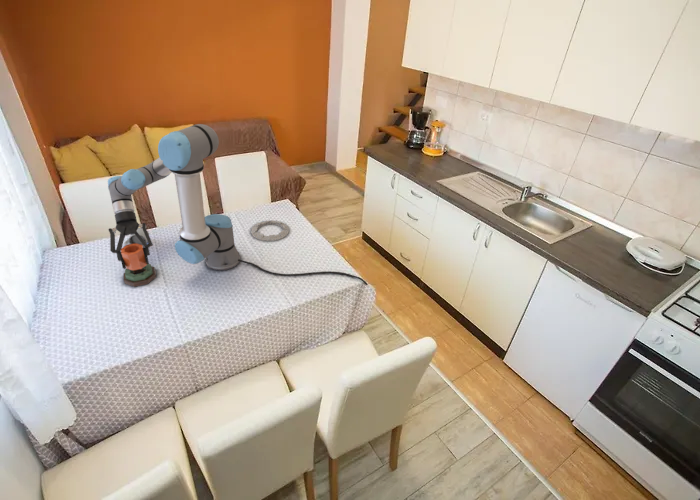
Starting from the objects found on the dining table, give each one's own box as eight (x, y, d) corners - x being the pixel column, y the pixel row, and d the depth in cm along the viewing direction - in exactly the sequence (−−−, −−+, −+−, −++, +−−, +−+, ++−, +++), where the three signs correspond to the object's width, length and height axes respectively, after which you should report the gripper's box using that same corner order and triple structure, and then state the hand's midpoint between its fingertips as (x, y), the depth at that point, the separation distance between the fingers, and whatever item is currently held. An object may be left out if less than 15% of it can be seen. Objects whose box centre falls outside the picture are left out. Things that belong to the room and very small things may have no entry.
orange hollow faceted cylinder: (151, 261, 161) (146, 246, 156) (137, 272, 155) (132, 256, 150) (136, 257, 163) (131, 241, 158) (122, 267, 157) (116, 251, 152)
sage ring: (157, 269, 164) (156, 266, 163) (140, 283, 156) (138, 279, 155) (138, 264, 167) (137, 260, 165) (120, 277, 159) (119, 273, 158)
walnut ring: (162, 272, 166) (161, 269, 165) (141, 289, 157) (140, 285, 155) (139, 265, 169) (138, 262, 168) (118, 281, 159) (116, 278, 158)
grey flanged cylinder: (151, 238, 187) (147, 225, 182) (148, 247, 180) (144, 234, 176) (127, 240, 184) (122, 227, 180) (123, 250, 178) (118, 236, 173)
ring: (292, 224, 207) (292, 221, 206) (283, 243, 191) (283, 240, 190) (258, 219, 208) (258, 216, 207) (246, 238, 192) (245, 235, 191)
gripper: (153, 211, 165) (164, 261, 163) (98, 220, 157) (109, 272, 155) (150, 206, 158) (162, 258, 156) (93, 214, 150) (104, 269, 148)
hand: (136, 265), depth 155 cm, fingers closed on orange hollow faceted cylinder, 8 cm apart
